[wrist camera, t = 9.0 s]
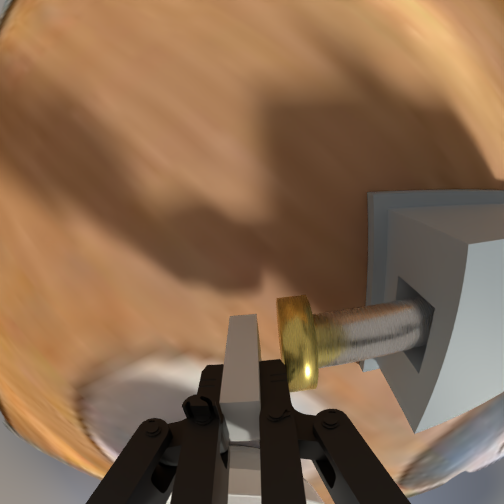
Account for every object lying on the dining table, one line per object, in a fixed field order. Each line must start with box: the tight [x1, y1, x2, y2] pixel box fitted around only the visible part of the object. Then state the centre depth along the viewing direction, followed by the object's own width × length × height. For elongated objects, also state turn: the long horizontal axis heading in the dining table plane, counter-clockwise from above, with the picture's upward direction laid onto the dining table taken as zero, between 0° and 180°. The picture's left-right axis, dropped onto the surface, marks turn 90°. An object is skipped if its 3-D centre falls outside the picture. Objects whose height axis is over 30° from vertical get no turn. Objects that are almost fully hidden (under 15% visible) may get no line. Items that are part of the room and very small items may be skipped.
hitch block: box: [359, 189, 504, 434], centre depth 15 cm, size 16×14×9 cm
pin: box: [276, 295, 435, 392], centre depth 14 cm, size 18×5×5 cm, turn 96°
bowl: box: [166, 445, 325, 504], centre depth 22 cm, size 20×19×8 cm
